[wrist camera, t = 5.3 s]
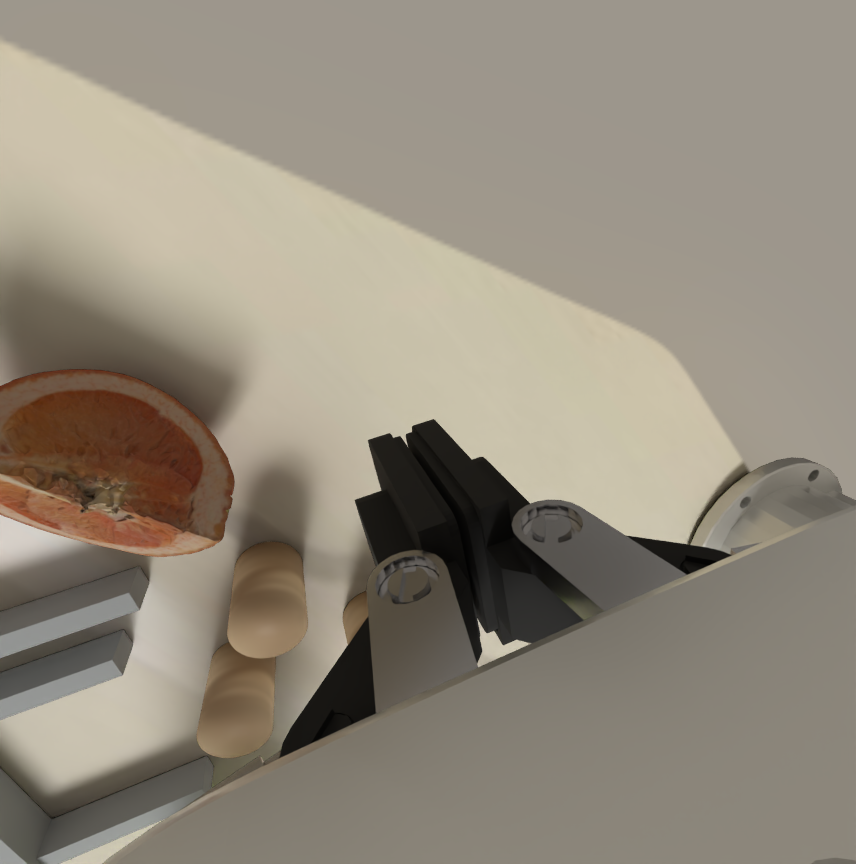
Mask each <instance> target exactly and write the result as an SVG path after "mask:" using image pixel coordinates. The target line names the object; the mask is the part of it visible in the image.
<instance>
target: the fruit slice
mask: <svg viewBox="0 0 856 864" xmlns="http://www.w3.org/2000/svg"><path fill="white" fill-rule="evenodd" d="M233 489H234V475H233V472H232V470H231V467H230V464H229V461H228V458H227V456H226V454H225V453H224V451H223V450H222V448H221V447H220V445H219V443H218V441H217V439H216V438H215V436H214V435H213V434H212V433H211V431H210V430H209V429H208V428H207V427H206V425H205V424H204V423H203V422H202V421H201V420H200V419H199V418H198V417H197V416H196V415H195V414H193V413H192V412H191V411H190V410H189V409H187V408H186V407H185V406H184V405H182V404H181V403H180V402H179V401H177V400H176V399H175V398H173V397H172V396H170V395H168V394H167V393H165V392H163V391H161V390H159V389H158V388H156V387H154V386H152V385H150V384H148V383H146V382H143V381H141V380H139V379H136V378H133V377H131V376H127V375H124V374H120V373H114V372H109V371H103V370H86V369H71V370H58V371H49V372H42V373H37V374H32V375H29V376H25V377H22V378H19V379H15V380H13V381H11V382H9V383H6V384H4V385H2V386H0V515H3V516H5V517H8V518H11V519H13V520H16V521H18V522H21V523H23V524H26V525H29V526H32V527H35V528H38V529H41V530H44V531H47V532H50V533H54V534H57V535H61V536H64V537H68V538H72V539H75V540H79V541H83V542H86V543H89V544H95V545H99V546H103V547H108V548H113V549H117V550H121V551H125V552H130V553H135V554H140V555H145V556H155V557H166V556H176V555H183V554H192V553H195V552H199V551H202V550H203V549H207V548H210V547H211V546H214V545H215V544H216V543H218V542H220V541H221V540H222V538H223V536H224V531H225V522H226V520H227V518H228V513H229V509H230V508H231V504H232V500H233V499H232V497H231V495H232V494H233Z"/></svg>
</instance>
